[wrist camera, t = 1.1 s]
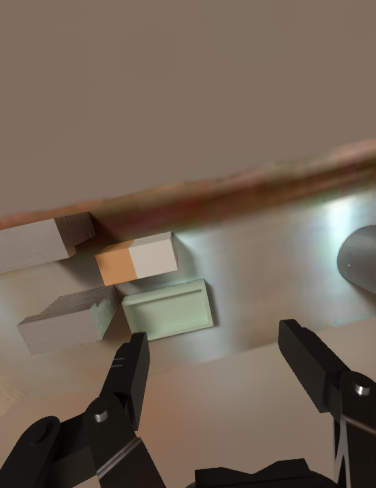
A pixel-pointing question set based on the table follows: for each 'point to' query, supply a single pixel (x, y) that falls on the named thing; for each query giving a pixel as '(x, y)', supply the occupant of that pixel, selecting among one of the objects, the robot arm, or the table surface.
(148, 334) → the tray
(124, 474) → the robot arm
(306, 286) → the table surface
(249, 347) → the table surface
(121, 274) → the two-tone eraser block
